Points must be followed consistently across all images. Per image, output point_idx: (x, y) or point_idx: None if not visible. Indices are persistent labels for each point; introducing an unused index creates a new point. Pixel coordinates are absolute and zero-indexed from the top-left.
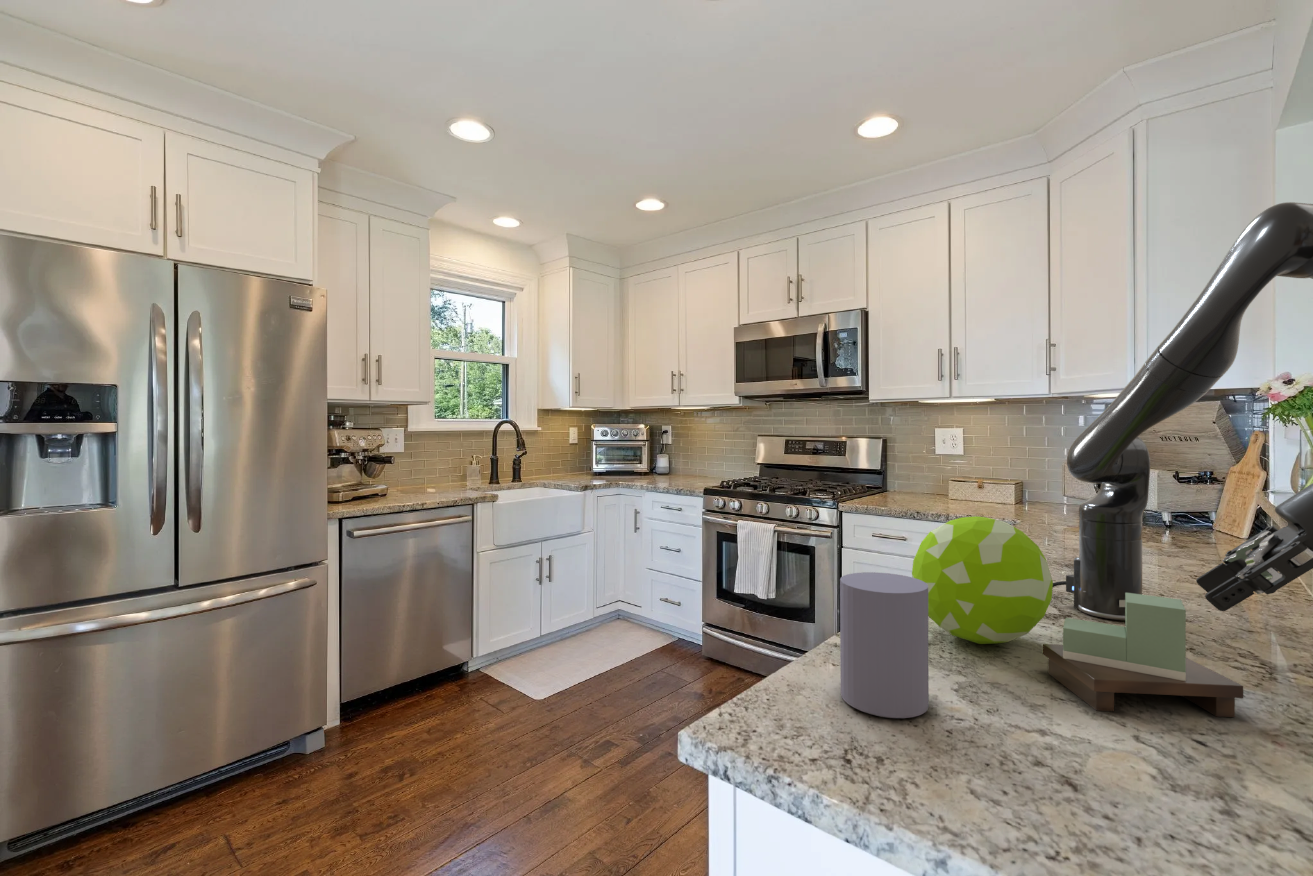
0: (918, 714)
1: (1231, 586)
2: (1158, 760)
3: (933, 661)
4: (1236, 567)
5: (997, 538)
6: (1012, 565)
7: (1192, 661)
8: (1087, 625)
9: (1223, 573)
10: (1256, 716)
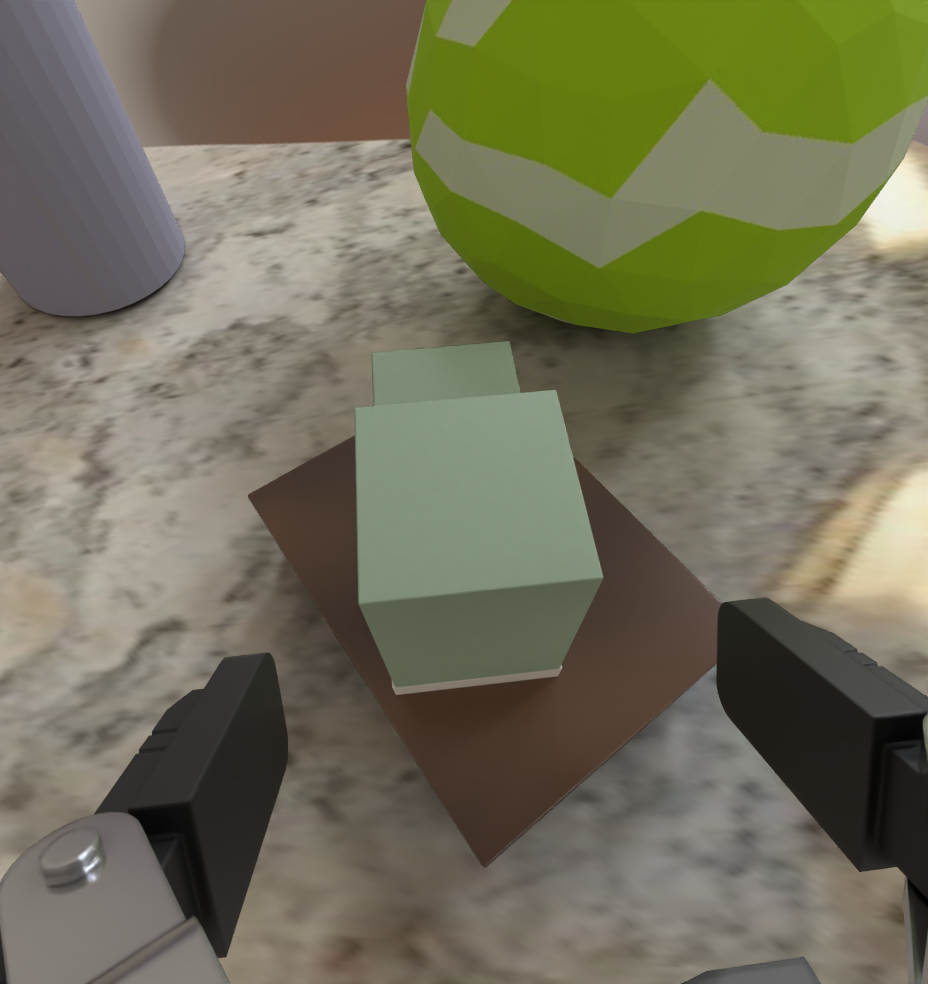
0: (44, 311)
1: (123, 786)
2: (52, 677)
3: (379, 264)
4: (919, 834)
5: None
6: (502, 80)
7: (653, 707)
8: (454, 394)
9: (822, 737)
10: (550, 905)
